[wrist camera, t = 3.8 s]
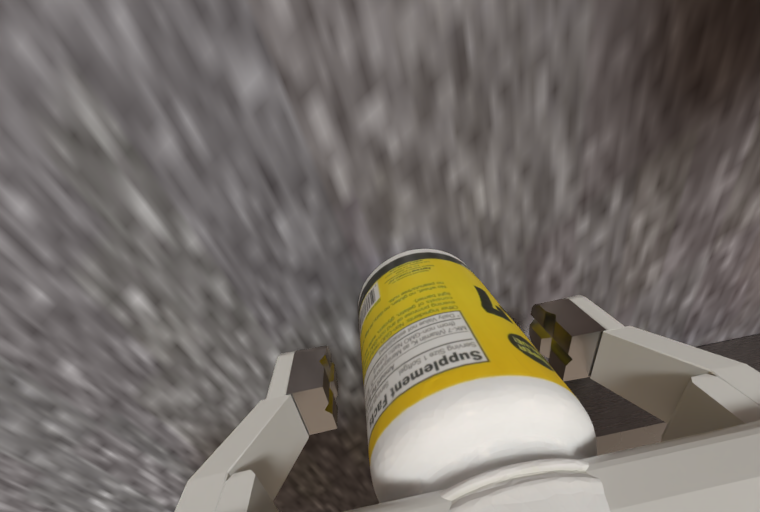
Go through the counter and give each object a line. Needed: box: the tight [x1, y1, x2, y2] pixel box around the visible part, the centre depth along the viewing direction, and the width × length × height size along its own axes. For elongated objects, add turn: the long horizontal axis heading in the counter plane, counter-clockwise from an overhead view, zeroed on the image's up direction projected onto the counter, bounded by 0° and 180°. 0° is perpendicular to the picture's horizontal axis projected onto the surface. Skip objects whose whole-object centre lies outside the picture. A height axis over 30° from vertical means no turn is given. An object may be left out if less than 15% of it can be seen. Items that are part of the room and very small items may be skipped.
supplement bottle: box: [358, 249, 611, 512], centre depth 8 cm, size 5×5×8 cm
